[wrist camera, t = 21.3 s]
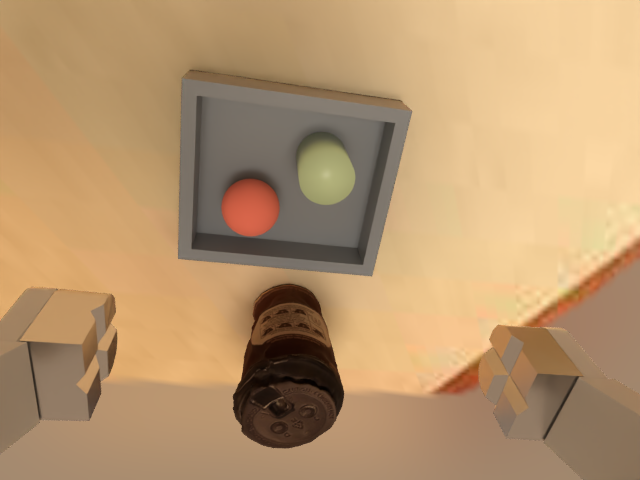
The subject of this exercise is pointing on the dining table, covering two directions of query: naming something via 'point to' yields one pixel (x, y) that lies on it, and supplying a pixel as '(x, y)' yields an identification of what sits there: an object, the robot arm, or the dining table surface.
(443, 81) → the dining table surface
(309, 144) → the pale green capsule
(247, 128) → the bin
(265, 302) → the coffee cup
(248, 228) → the red ball
